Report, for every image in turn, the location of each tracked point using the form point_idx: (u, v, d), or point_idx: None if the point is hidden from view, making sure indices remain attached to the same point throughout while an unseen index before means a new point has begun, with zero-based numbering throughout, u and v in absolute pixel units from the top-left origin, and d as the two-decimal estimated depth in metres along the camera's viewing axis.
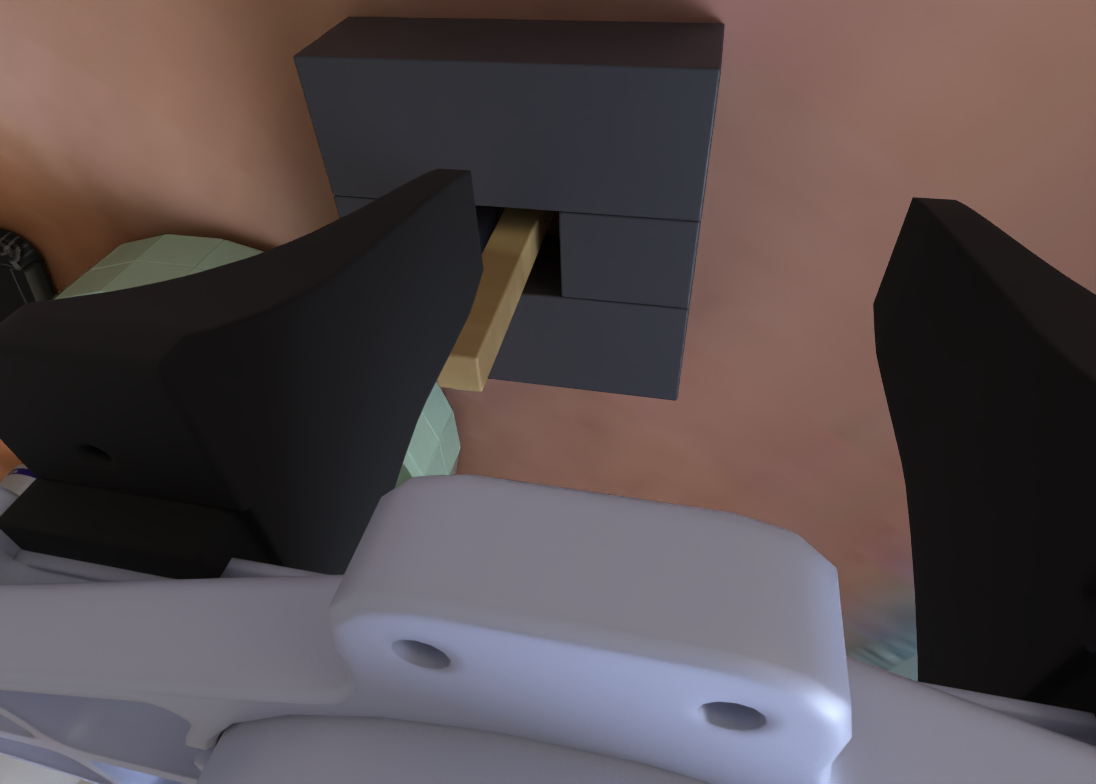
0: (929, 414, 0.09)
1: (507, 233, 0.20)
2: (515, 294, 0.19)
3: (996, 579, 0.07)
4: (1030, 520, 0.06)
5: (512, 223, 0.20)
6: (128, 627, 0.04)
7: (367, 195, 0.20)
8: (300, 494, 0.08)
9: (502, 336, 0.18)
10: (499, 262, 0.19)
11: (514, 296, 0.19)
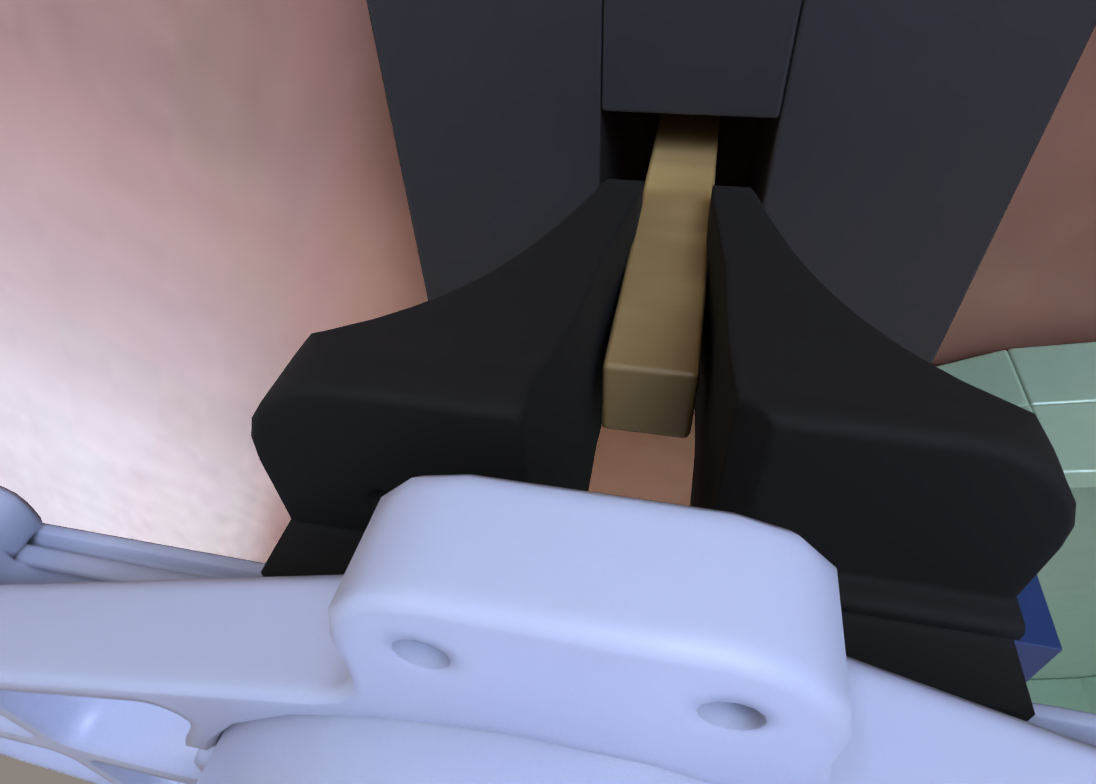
0: (703, 389, 0.09)
1: None
2: (680, 221, 0.11)
3: None
4: (708, 476, 0.07)
5: None
6: (128, 627, 0.04)
7: None
8: None
9: (691, 278, 0.10)
10: None
11: (680, 223, 0.11)
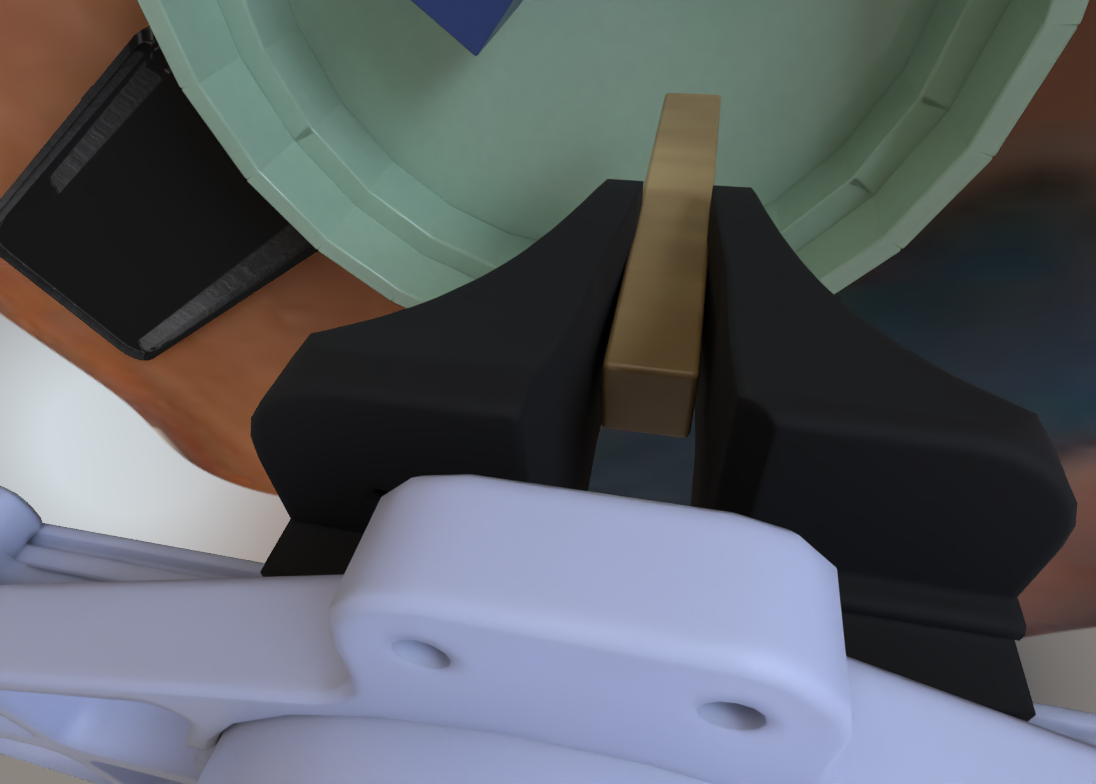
0: (704, 388, 0.09)
1: None
2: (680, 220, 0.11)
3: None
4: (708, 476, 0.07)
5: None
6: (128, 627, 0.04)
7: None
8: None
9: (691, 278, 0.10)
10: None
11: (680, 223, 0.11)
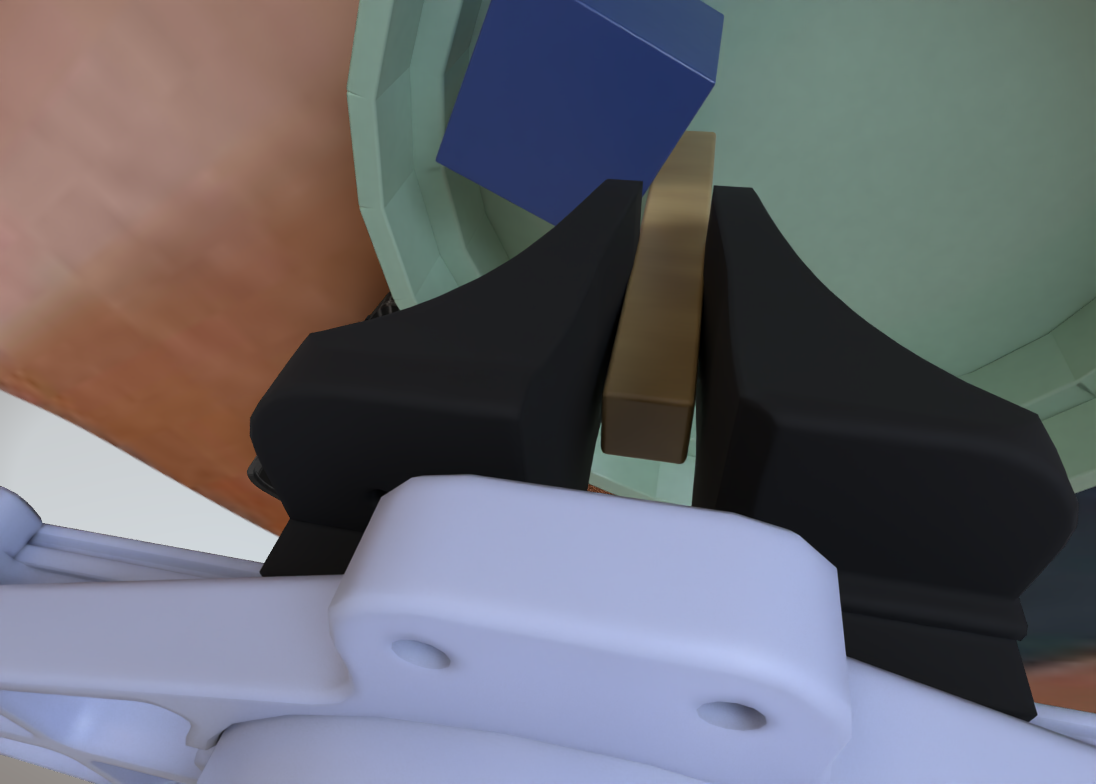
0: (705, 389, 0.09)
1: None
2: (677, 254, 0.11)
3: None
4: (709, 476, 0.07)
5: None
6: (128, 625, 0.04)
7: None
8: None
9: (687, 309, 0.10)
10: None
11: (677, 256, 0.11)
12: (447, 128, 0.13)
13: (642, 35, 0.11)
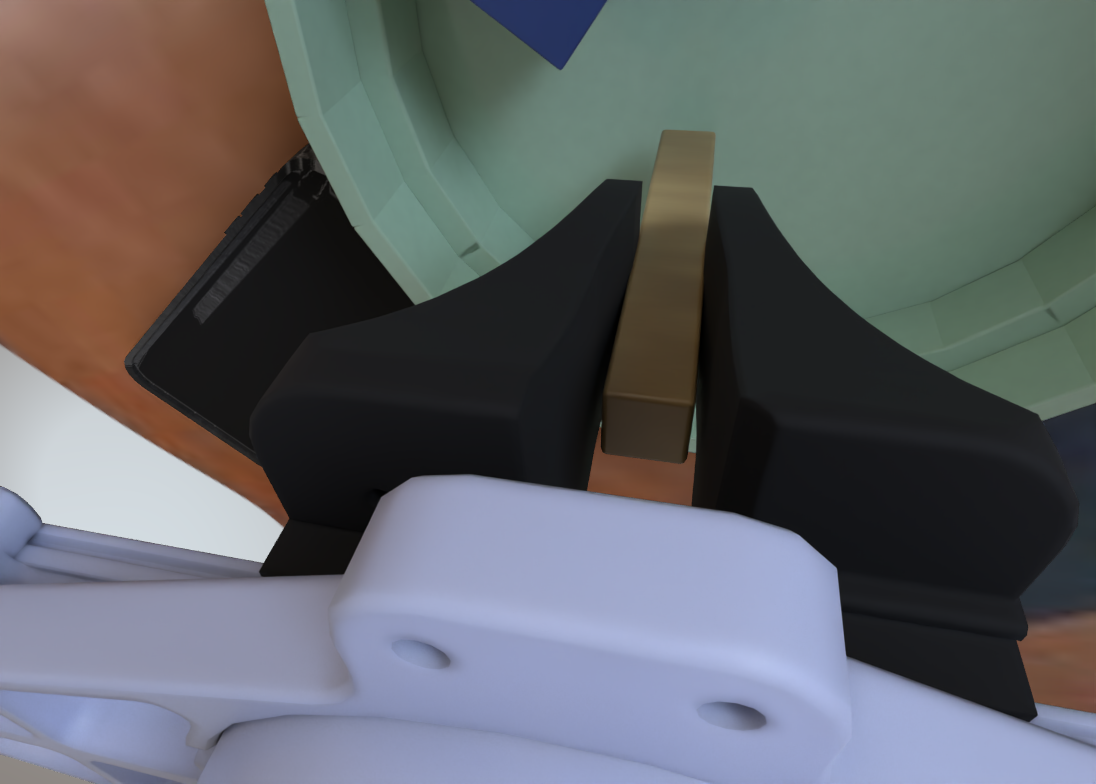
0: (705, 389, 0.09)
1: None
2: (676, 254, 0.11)
3: None
4: (710, 476, 0.07)
5: None
6: (128, 627, 0.04)
7: None
8: None
9: (687, 309, 0.10)
10: None
11: (677, 256, 0.11)
12: None
13: None
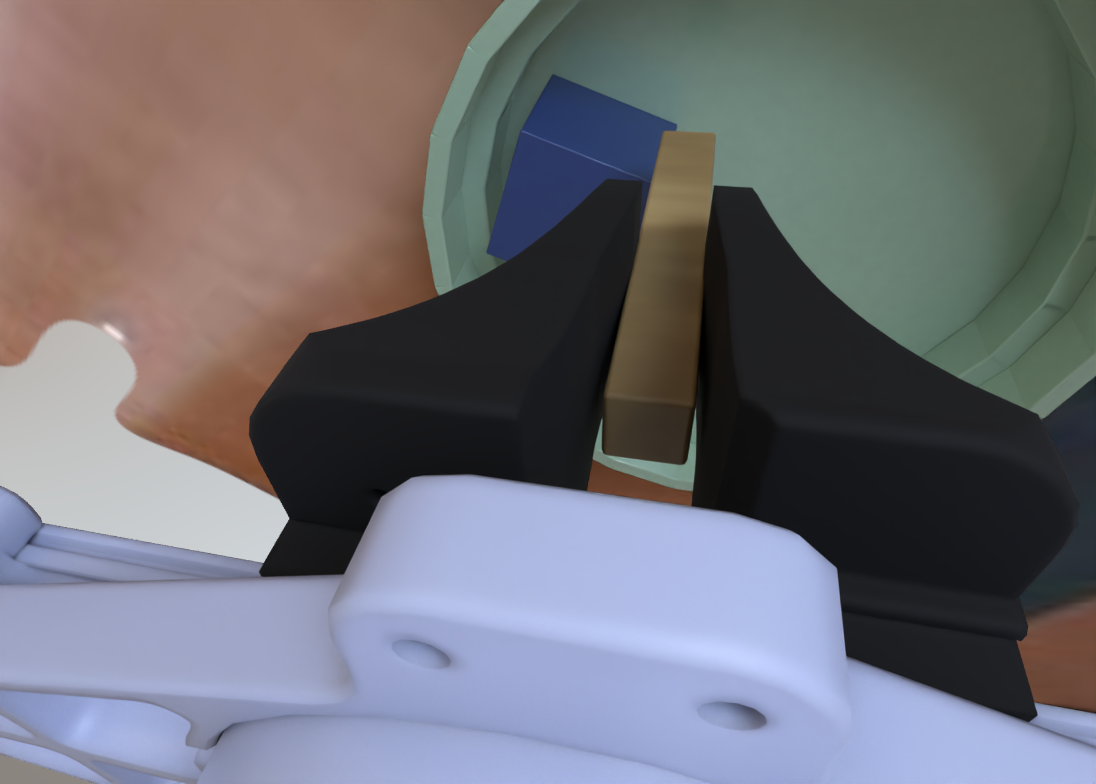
0: (705, 389, 0.09)
1: None
2: (677, 255, 0.11)
3: None
4: (710, 476, 0.07)
5: None
6: (128, 625, 0.04)
7: None
8: None
9: (688, 311, 0.10)
10: None
11: (677, 258, 0.11)
12: (492, 232, 0.19)
13: (613, 163, 0.17)
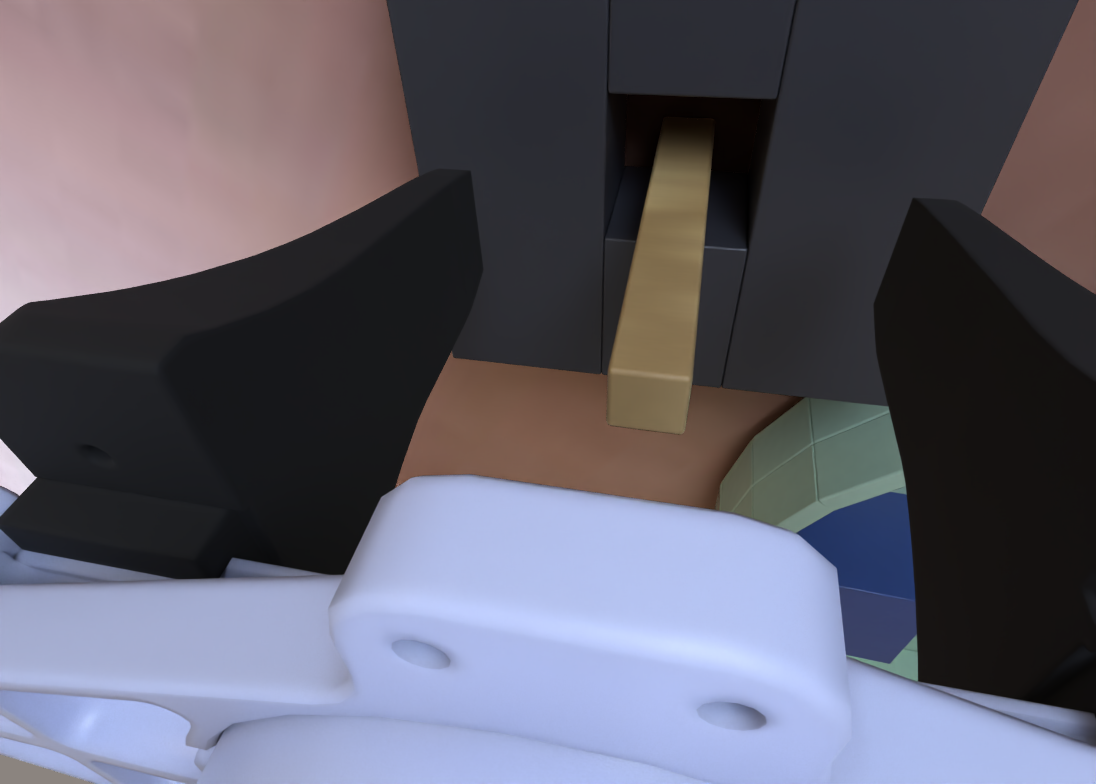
0: (929, 415, 0.09)
1: None
2: (676, 239, 0.12)
3: (996, 579, 0.07)
4: (1030, 520, 0.06)
5: None
6: (128, 627, 0.04)
7: (597, 339, 0.16)
8: (300, 494, 0.08)
9: (686, 292, 0.11)
10: None
11: (677, 241, 0.12)
12: None
13: (888, 591, 0.20)
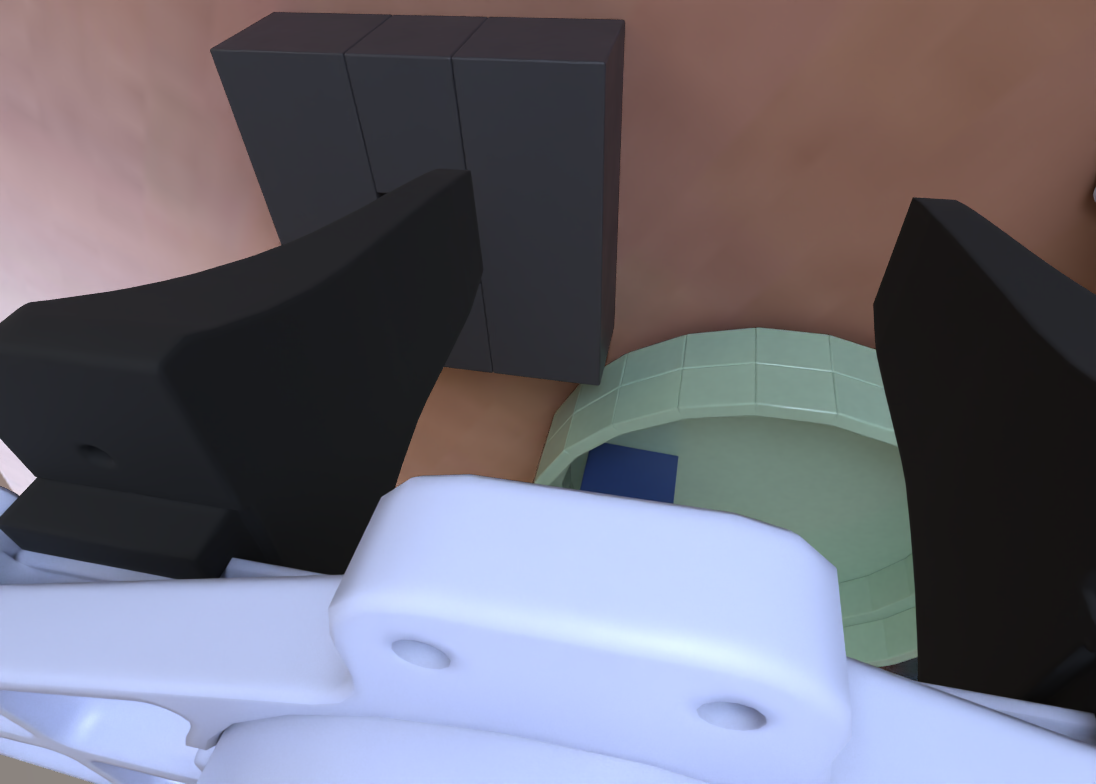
0: (929, 414, 0.09)
1: None
2: None
3: (996, 579, 0.07)
4: (1030, 520, 0.06)
5: None
6: (128, 627, 0.04)
7: None
8: (300, 494, 0.08)
9: None
10: None
11: None
12: None
13: None
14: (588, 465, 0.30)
